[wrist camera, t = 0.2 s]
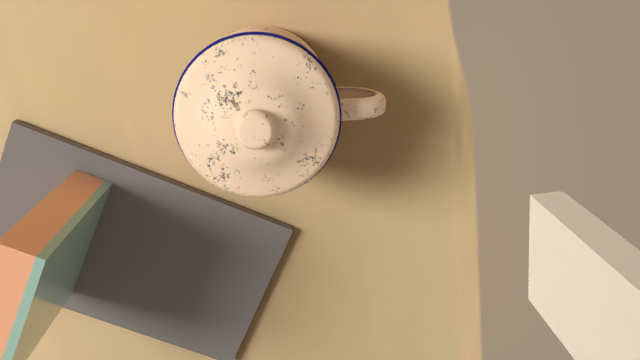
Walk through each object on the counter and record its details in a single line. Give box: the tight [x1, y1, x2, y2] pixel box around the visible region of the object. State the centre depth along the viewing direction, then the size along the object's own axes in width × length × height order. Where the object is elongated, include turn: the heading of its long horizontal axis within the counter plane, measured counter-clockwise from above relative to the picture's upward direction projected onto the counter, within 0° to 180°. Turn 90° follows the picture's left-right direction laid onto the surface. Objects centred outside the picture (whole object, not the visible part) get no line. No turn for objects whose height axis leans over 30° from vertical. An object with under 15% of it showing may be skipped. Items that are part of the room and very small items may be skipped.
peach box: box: [0, 170, 112, 360], centre depth 37 cm, size 2×9×12 cm, turn 156°
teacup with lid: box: [172, 26, 386, 197], centre depth 35 cm, size 12×9×12 cm
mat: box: [0, 120, 293, 360], centre depth 43 cm, size 20×12×1 cm, turn 66°
